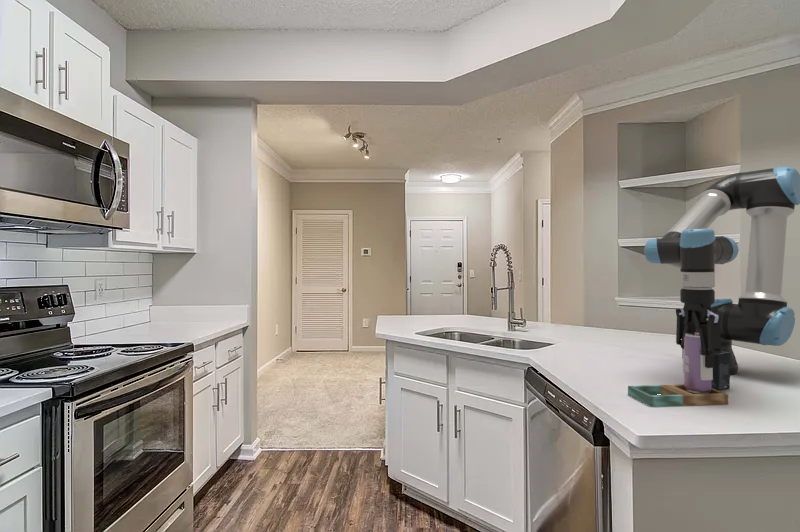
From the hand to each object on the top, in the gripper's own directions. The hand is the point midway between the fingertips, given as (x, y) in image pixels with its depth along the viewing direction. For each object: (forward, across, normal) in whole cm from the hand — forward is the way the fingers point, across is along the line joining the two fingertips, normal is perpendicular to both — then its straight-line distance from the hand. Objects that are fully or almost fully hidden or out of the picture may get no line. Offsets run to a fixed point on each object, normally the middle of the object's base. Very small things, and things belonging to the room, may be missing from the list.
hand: (697, 376), depth 120 cm
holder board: (+6, 0, -6) cm, 8 cm away
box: (+6, -10, +11) cm, 16 cm away
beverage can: (+4, 0, 0) cm, 4 cm away
